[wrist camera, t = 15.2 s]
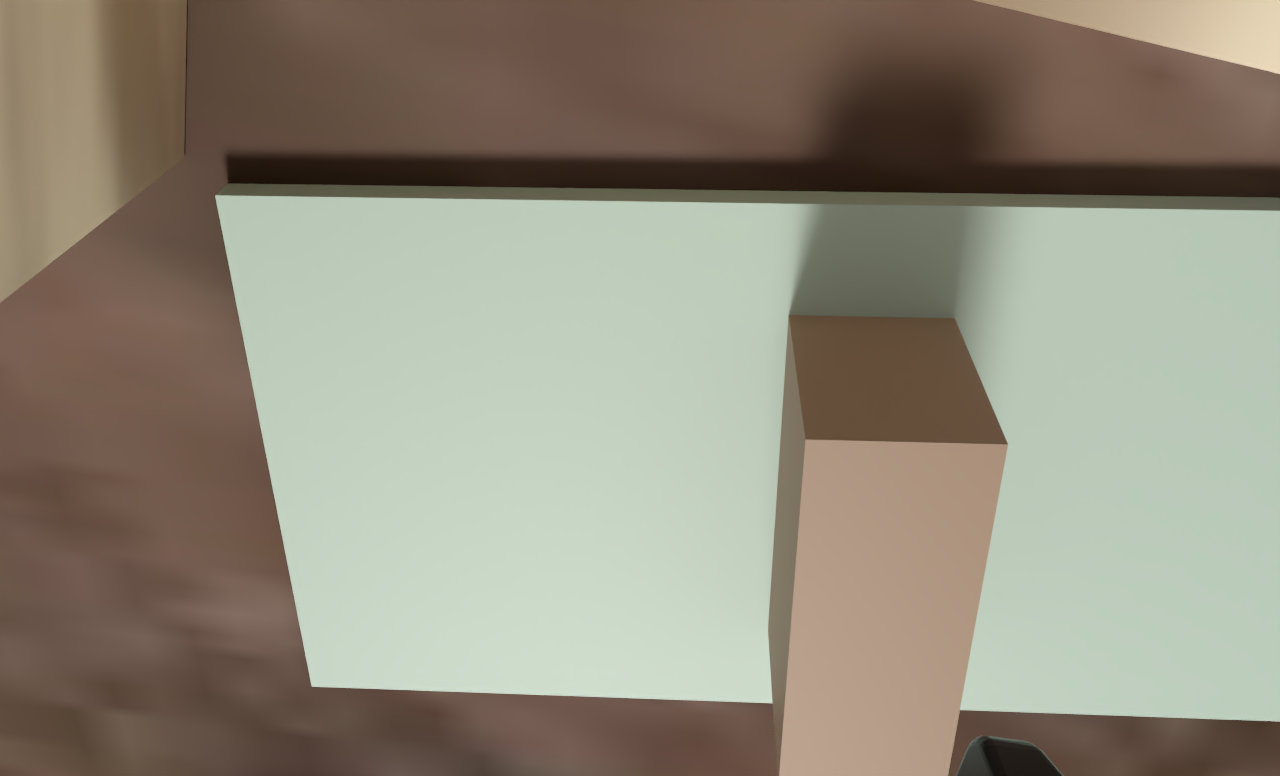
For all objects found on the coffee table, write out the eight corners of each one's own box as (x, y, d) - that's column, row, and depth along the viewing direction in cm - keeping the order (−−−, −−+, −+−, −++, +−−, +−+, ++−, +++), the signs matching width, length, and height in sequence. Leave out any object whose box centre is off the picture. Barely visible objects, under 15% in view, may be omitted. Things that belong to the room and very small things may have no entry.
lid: (1543, 188, 19) (1804, 329, 14) (1344, 682, 24) (1488, 897, 20) (240, 171, 20) (103, 297, 16) (328, 647, 25) (245, 843, 21)
